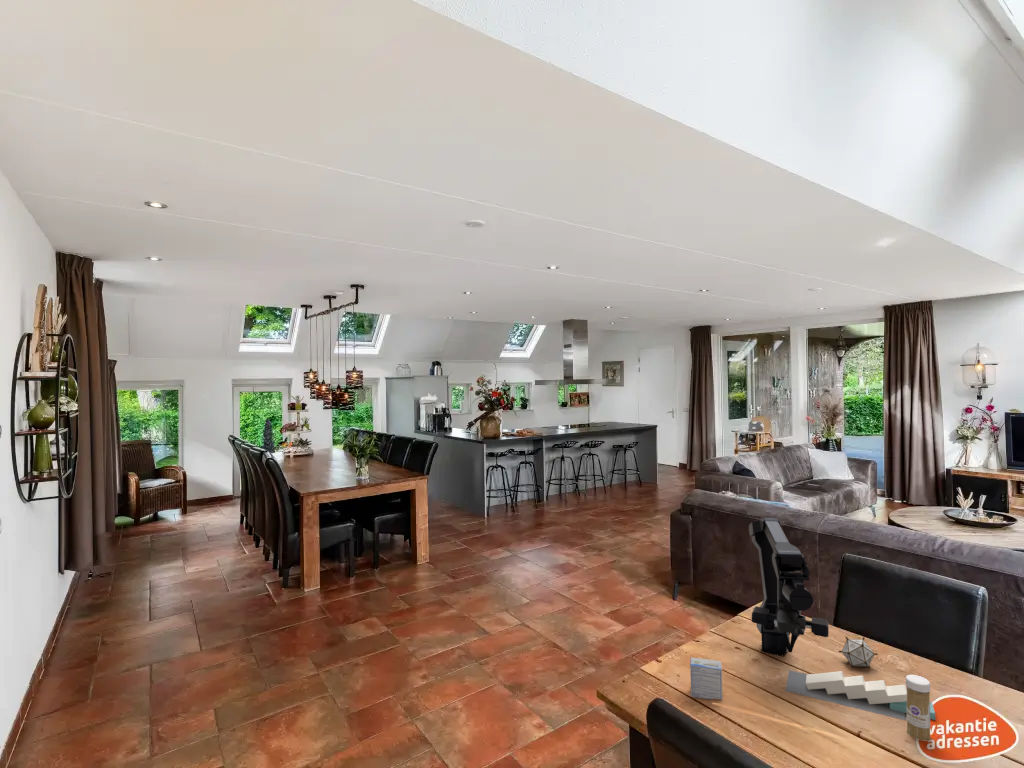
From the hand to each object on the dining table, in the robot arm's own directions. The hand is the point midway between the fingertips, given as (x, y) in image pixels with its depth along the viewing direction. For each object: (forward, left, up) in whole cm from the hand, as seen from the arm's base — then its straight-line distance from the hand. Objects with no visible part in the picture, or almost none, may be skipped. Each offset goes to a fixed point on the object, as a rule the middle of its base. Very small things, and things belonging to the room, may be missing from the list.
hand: (790, 651), depth 150 cm
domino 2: (+9, -1, -7) cm, 11 cm away
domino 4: (+18, -1, -7) cm, 19 cm away
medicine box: (-19, -18, -8) cm, 27 cm away
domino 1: (+4, -1, -7) cm, 8 cm away
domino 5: (+22, -1, -7) cm, 23 cm away
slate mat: (+12, -1, -8) cm, 15 cm away
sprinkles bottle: (+27, -12, -8) cm, 31 cm away
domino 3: (+13, -1, -7) cm, 15 cm away
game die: (+16, +18, -8) cm, 25 cm away
